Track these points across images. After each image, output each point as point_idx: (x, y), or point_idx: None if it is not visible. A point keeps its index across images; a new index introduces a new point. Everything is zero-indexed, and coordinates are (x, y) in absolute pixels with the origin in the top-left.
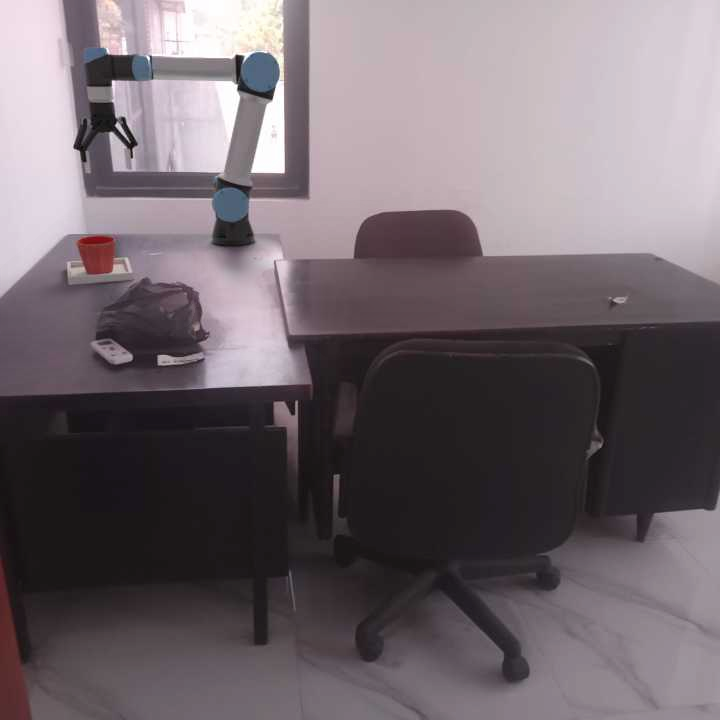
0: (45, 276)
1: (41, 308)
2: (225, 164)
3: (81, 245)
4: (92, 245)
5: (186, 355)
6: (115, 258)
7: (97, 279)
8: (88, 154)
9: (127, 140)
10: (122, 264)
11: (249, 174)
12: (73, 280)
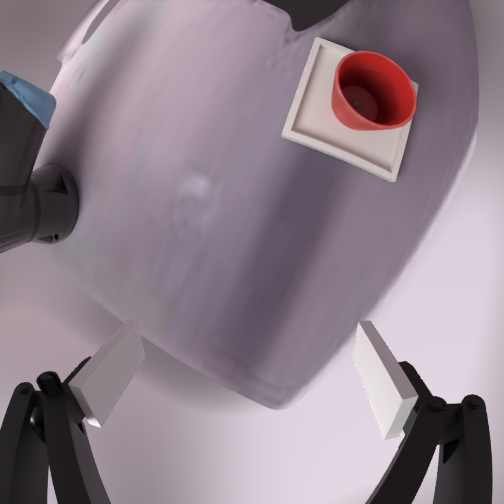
0: (429, 161)
1: (449, 36)
2: None
3: (410, 83)
4: (393, 61)
5: None
6: (307, 142)
7: None
8: (399, 386)
9: (46, 427)
10: (299, 123)
11: None
12: None
